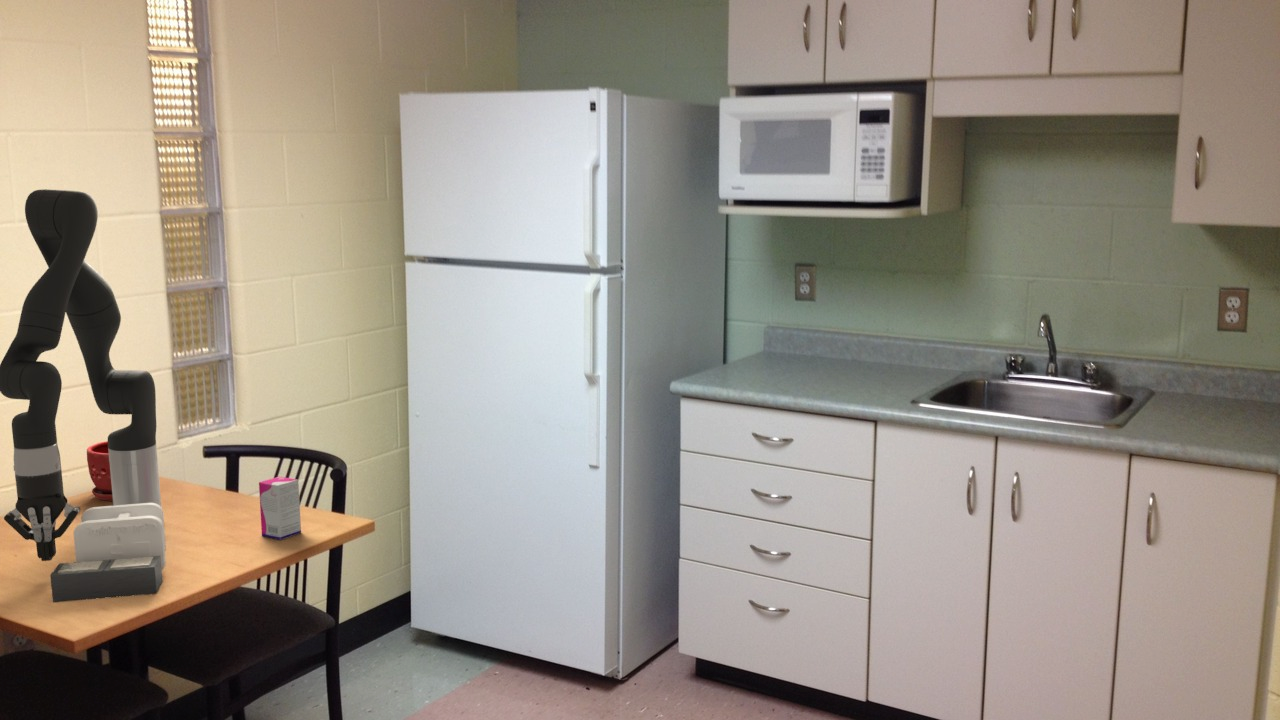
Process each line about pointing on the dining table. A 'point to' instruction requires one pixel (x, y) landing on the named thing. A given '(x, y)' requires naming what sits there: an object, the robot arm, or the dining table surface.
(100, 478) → the plant pot
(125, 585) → the block
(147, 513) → the cable organizer
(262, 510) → the supplement box
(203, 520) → the dining table surface
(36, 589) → the dining table surface
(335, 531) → the dining table surface
